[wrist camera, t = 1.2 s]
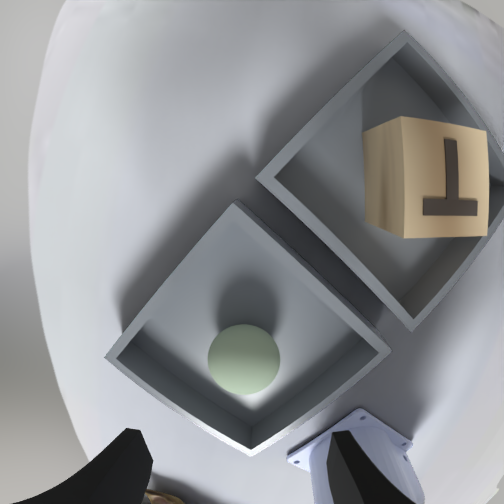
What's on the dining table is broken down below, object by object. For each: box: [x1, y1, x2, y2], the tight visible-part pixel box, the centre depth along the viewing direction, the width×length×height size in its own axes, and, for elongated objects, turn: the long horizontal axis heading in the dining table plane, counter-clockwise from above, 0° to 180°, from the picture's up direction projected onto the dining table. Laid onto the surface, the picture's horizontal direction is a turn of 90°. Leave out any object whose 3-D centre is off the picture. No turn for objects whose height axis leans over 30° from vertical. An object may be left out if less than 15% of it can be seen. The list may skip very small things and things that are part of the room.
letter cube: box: [362, 116, 489, 238], centre depth 13 cm, size 5×5×5 cm
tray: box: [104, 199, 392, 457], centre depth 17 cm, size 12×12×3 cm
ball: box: [207, 324, 280, 395], centre depth 16 cm, size 4×4×4 cm
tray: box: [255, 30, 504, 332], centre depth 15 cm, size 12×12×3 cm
